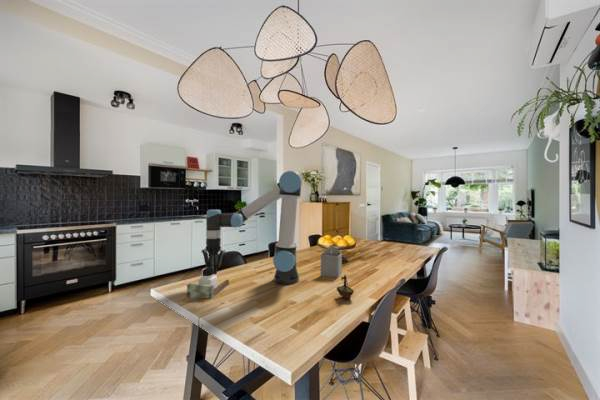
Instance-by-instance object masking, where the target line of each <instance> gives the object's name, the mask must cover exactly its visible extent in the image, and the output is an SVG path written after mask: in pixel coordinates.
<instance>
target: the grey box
mask: <svg viewBox="0 0 600 400" xmlns="http://www.w3.org/2000/svg"><path fill="white" fill-rule="evenodd" d="M342 262H343V253H342V251H340V250H339V249H338V248H337V247H335V246H334V245H332V244H331V245H329V247H327V248H326V249H325V250H324V251H323V252H322V253H321V254H320V277H325V276H326V277H328V278H335V277H337V279H338V278H339V277H340V276H341V275H342V273H343V272H342Z"/></svg>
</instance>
